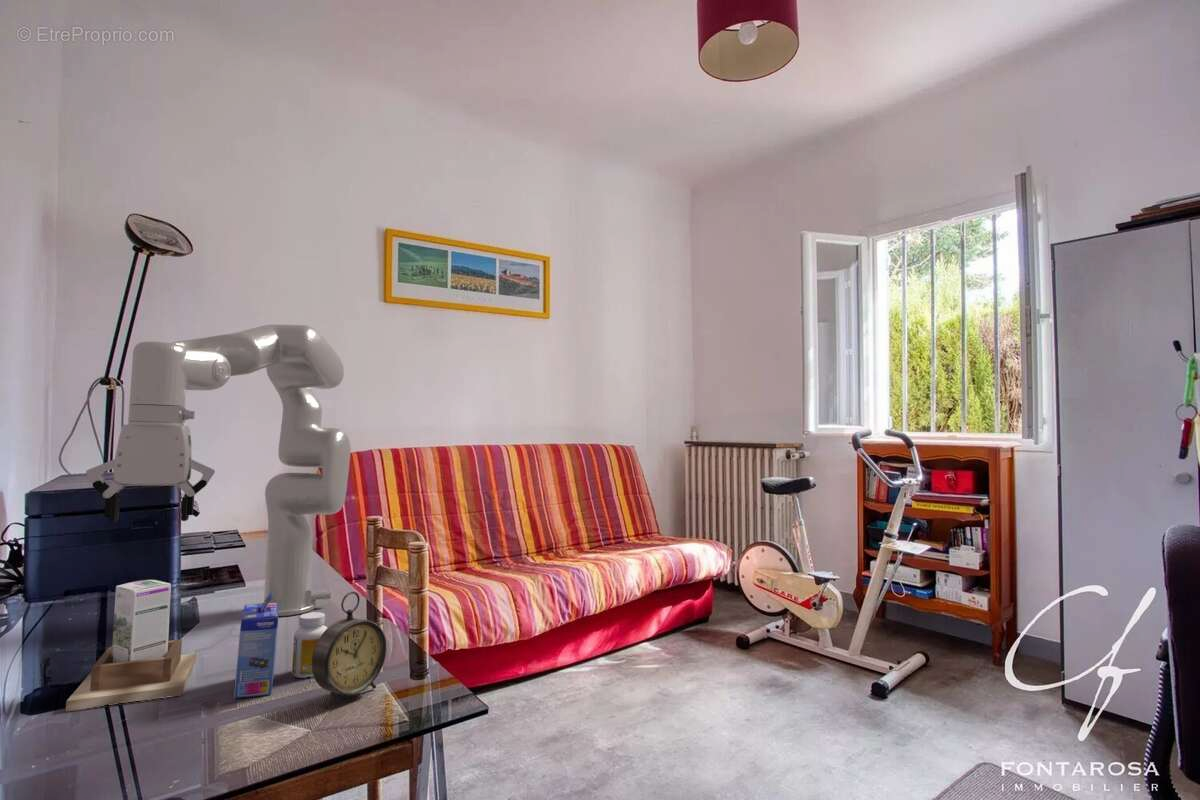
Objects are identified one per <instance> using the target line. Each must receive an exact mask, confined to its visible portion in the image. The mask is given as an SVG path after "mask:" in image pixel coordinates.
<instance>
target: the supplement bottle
mask: <svg viewBox="0 0 1200 800" xmlns="http://www.w3.org/2000/svg"><path fill="white" fill-rule="evenodd" d="M325 619H326V614H325V613H323V612H319V611H317V612H315V611H314V612H312V611H311V612H305V613H301V615H300V616H299V620H298V625H299V627H298V628H297V629H296V630H295V631H294V635H293V645H292V646H293V649H292V666H291V670H292V671H291V673H292V676H293V677H295V678H300V679H308V678H307V677H310V678H314V676H313V672H312V656H313V652H314V649H315V646H316V644H317V642H318V640H319V638H320V637H321V635H322V634H323V633H324V631H325V630H326V629H327V628H328V626H326V625H324V624H325V621H326V620H325Z"/></svg>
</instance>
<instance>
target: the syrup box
mask: <svg viewBox="0 0 1200 800" xmlns="http://www.w3.org/2000/svg"><path fill="white" fill-rule="evenodd" d="M171 587H172V583H171V582H170V583H169V582H166V581H161V580H157V579H141V580H135V581H132V582H127V583H123V584H120V585H119V584H118V585H116V586H115V594H114V595H115V597H114V614H113V628H112V629H113V631H112V645H111V647H112V659H111V663H116V662H126V661H135V660H144V659H153V658H162V657H165V656H166V655H167V651H168V641H169V632H170V611H171V608H170V607H171V589H172V588H171Z"/></svg>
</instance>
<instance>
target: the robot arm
mask: <svg viewBox="0 0 1200 800" xmlns="http://www.w3.org/2000/svg"><path fill="white" fill-rule="evenodd" d="M263 369H266V374H267V376H268V379H269V380H270V382H271V384H272V385H273V387H274V388H275V390H276V392H277V393H278V396H279V398H280V400H281V405H282V415H281V417H282V418H281V424H280V425H281V426H280V434H279V442H278V459H279V461H280V462H281V463H282V464H283V465H285V466H288V467H295V468H319V469H320V468H321V471H322V473H313V472H312V473H310V472H284V473H279V474H277V475H274V476H273V477H272V478H270V480H268V482H267V483H266V487H265V490H264V491H265V493H264V496H265V505H266V506H265V507H266V511H267V543H266V557H265V558H266V559H265V576H264V577H265V578H264V592H263V602H262V603H264V602H265V600H266V598H267V597H268V596H269V594H270V593H271V592H272V599H271V600H270V602H269V603H278V617H287V616H295V615H300V614H301V615H302V614H306V613H309V612H312V610H314V609H316V607H317V600H331V597H332V595H331V594H332V591H331V590H330V589H329V590H325V589H319V590H315V589H312V585H311V577H312V576H311V574H312V573H311V572H312V558H313V556H312V555H313V541H314V539H313V538H314V533H313V532H314V531H313V527H312V525H311V523H310V520H309V519H308V518H307V516H306V515H327V516H328V515H334V514H337V513H338V512H339V513H340V511H342V509H343V506H344V504H345V502H346V497H347V489H348V479H349V473H350V472H349V471H350V461H351V441H350V438H349V435H348V434H347V433H346V432H345V431H344V430H342V429H339V428H335V427H322V426H321V425H322V413H323V412H322V411H323V408H322V404H321V402H320V400H319V398H318V397H317V395H316V394H315V393H314V392H313V391H312V389H320V390H323V389H324V390H327V389H328V390H331V389H333V388H336V387H338V386H339V385H340V384H341V383H342V381H343V378H344V375H345V374H344V373H345V371H344V370H345V369H344V364H343V362H342V359H341V358H340V356H339V355H338V353H337V352H336V351H335V349H334V348H333V347H332V346H331V344H330V343H329V342H328V340H326V338H325V337H324V336H323V335H322V334H321V333H320V332H319V331H318V330H316V329H315V328H313V327H311V326H309V325H306V324H266V325H265V324H264V325H261V326H257V327H254V328H249V329H245V330H241V331H237V332H233V333H227V334H226V333H225V334H220V335H219V334H218V335H213V336H212V335H211V336H207V337H200V338H194V339H186V340H180V341H174V342H167V341H166V342H165V341H142V342H141V341H140V342H138V343H136V344H135V345H134V347H133V350H132V362H131V374H130V375H131V376H130V388H129V389H130V391H129V392H130V393H129V405H128V417H127V418H128V419H127V424H122V427H121V430H120V433H119V437H118V442H117V445H116V451H115V456H114V459H112V460H109V461H107V462H104V463H100V464H99V465H97V466H94V467H91V468H89V469H87V470H85V475H86V476H87V478H88V479H89V481H90V483H91V484H92V487H93V489H95V490H96V491H98V492H99V493H100V494H101V495H102V497H103V498H104V499H105V502H104V504H105V507H104V519H106V518H107V523H108V524H114V523H116V522H117V521H119V518H120V508H121V507H120V506H121V505H120V504H121V497H120V496H119V492H120V491H122V490H123V489H124V488H125V487H149V486H150V487H157V486H159V487H160V486H161V487H162V486H167V487H168V486H177V487H179V488H180V490H181V491H182V492H183V493H184V496H183V497H182V499H181V511H180V521H182V522H187V521H188V520H189V518H190V516H193V515H194V507H195V506H194V504H195V496H196V494H197V493H199V492H200V491H202V490H203V489H204V488H205V487H207V485H208V483H209V482H210V480H211V479H212V477H213V476H214V474H215V473H216V471H215V469H214V468H211V467H210V466H207V465H206V464H203V463H200V462H199V461H196V460H194V459H193V458H192V452H193V451H192V437H191V429H190V426H189V425H188V426H187V425H185V424H184V423H185V422H186V421H188V420H194V419H195V410H193V411H192V410H189V409H187V408H186V407H185V406H186V395H187V394H186V392H187V391H214V390H217V389H220V388H222V387H223V386H225V385H226V384H227V383H228V382H229V380H230V377H234V376H242V375H243V376H245V375H248V374H252V373H254V372H258V371H260V370H263ZM110 470H112V481H113V483H112V484H111V485H109V484H108V483H107V482H105V481H104V480H103V478H102V476H101V474H103V473H105V472H107V471H110ZM192 470H194V471H197V472H199V473H201V475H202V476H201V478H200V479H199V480H198V481H197V483H195V484H192V483H191V482H190V481H189V480H190V479H191V475H192Z"/></svg>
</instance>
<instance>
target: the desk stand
mask: <svg viewBox="0 0 1200 800" xmlns="http://www.w3.org/2000/svg"><path fill="white" fill-rule="evenodd" d="M182 643H183V639H173V640H168V651H167V655H166V656H165V657H162V658H153V659H144V660H135V661H126V662H116V663H111V659H112V646H109V647H108V648H107V649H106V650H105V651H104V653H102V655H100V657H99V658H98V660H97V661H96V662H95V663H94V664H93V665H92V667H91V672H90V673H89V674H88V675H87V676H86V677H85V679H84V680H83V681H82V682H81V684H80V685H79V686H78V687H77V688H76V690H74V692H73V693H72V694H71V695H70V696H69V698H67V700H66V703H65V712H71V711H72V712H74V711H81V710H88V709H87V708H89V709H94V708H93V707H95V706H101V705H107V704H108V705H109V704H114V703H126V702H133V701H139V700H144V699H153V698H159V697H167V696H179V697H181V696H180V695H182V696H183V693H184V691H185V689H186V686H187V684H188V682H187V681H189V680H190V677H191V675H192V673H191V671H192V672H193V670H194V668H195V666H194V664H195V665H196V663H197V655H198V654H197V653H195V652H194V653H187V654H182V646H183V645H182ZM195 662H196V663H195ZM193 667H194V668H193ZM192 669H193V670H192ZM190 674H191V675H190ZM189 676H190V677H189ZM188 679H189V680H188ZM184 688H185V689H184ZM183 690H184V691H183ZM126 704H127V703H126ZM91 707H92V708H91Z"/></svg>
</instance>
